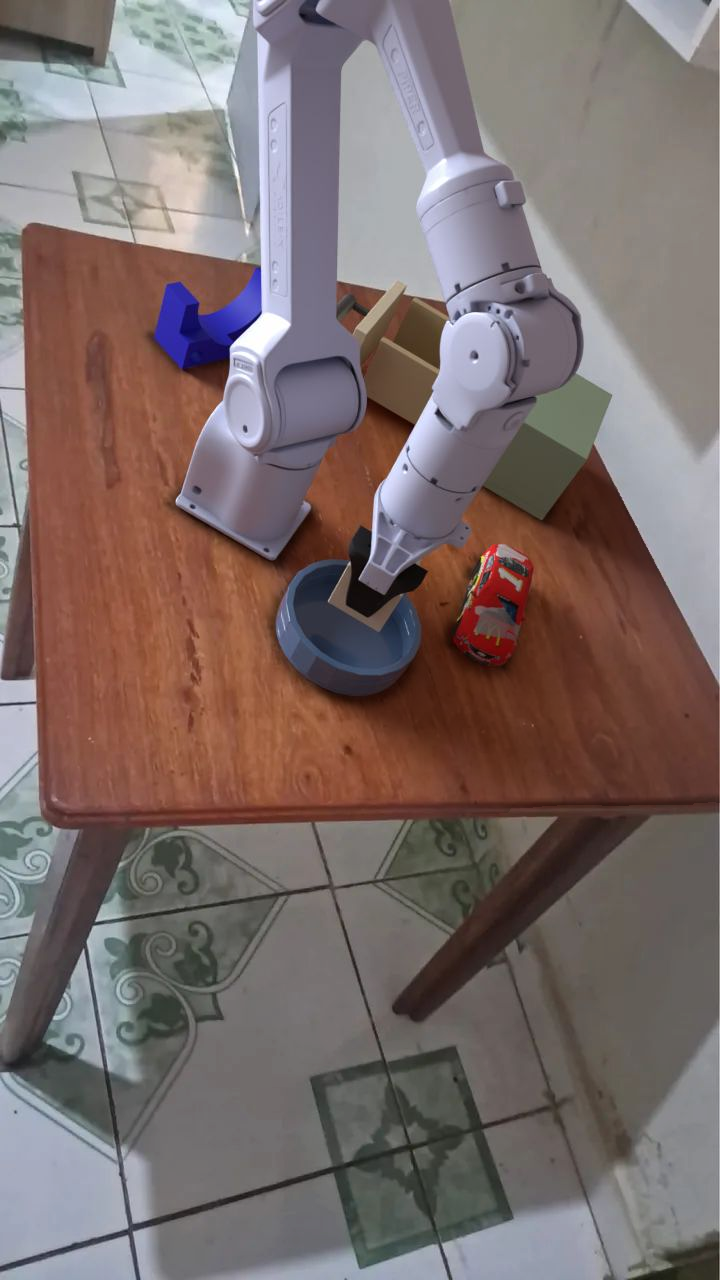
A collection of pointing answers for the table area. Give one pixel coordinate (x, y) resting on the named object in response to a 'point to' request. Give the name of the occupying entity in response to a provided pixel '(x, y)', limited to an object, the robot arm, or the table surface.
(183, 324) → the cable clip
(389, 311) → the drawer
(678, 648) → the table surface
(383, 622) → the block
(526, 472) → the cabinet
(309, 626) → the bowl
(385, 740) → the table surface
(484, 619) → the race car
